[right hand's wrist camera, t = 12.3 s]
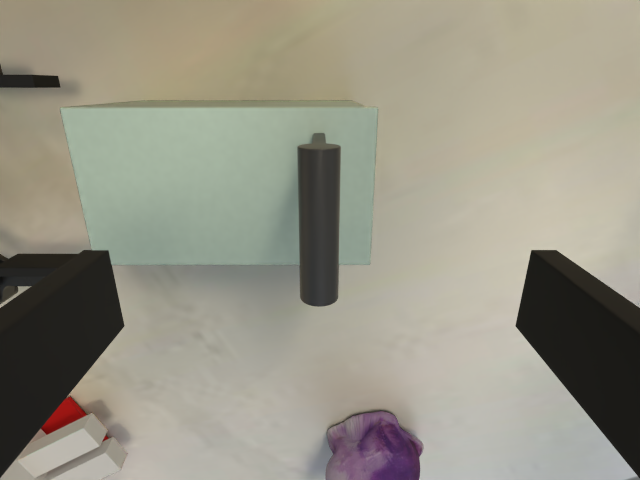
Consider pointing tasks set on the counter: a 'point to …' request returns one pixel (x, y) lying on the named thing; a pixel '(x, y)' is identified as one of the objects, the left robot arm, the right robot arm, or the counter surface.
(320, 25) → the counter surface
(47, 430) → the toy
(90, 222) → the lid
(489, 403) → the counter surface
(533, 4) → the counter surface
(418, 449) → the figurine
